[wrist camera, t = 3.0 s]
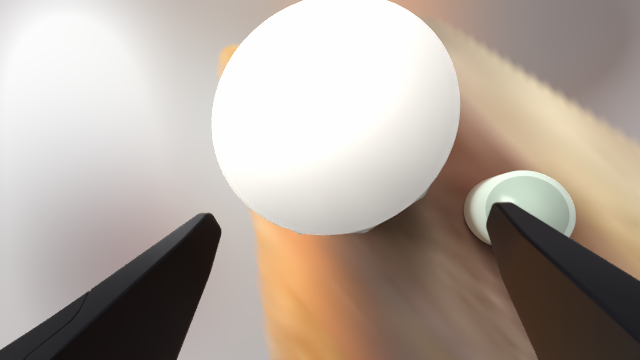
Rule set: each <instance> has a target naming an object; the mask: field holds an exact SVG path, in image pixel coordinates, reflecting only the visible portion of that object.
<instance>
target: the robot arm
mask: <svg viewBox="0 0 640 360" xmlns="http://www.w3.org/2000/svg"><path fill="white" fill-rule="evenodd" d="M486 229H487V232H488V235H489V239H490V242H491V245H492V248H493V251H494V254H495V258H496V261H497V264H498V267H499V270H500V273H501V276H502V279H503V281H504V284H505V286H506V289H507V291H508V293H509V295H510V297H511V300H512V302H513V304H514V306H515V309H516V311H517V313H518V315H519V317H520V320H521V322H522V324H523V326H524V328H525V331H526V333H527V335H528V337H529V340H530V342H531V344H532V346H533V348H534V351H535V353H536V355H537V357H538V360H640V281H639V280H637V279H636V278H634V277H633V276H631V275H629V274H628V273H626V272H624V271H623V270H621V269H620V268H618V267H616V266H615V265H613V264H611V263H610V262H608V261H607V260H605V259H603V258H602V257H600V256H598V255H597V254H595V253H594V252H592V251H590V250H589V249H587V248H585V247H584V246H582V245H581V244H579V243H577V242H576V241H574V240H572V239H571V238H569V237H568V236H566V235H564V234H563V233H561V232H559V231H558V230H556V229H555V228H553V227H551V226H550V225H548V224H546V223H545V222H543V221H542V220H540V219H538V218H537V217H535V216H533V215H532V214H530V213H529V212H527V211H525V210H524V209H522V208H520V207H519V206H517V205H516V204H514V203H512V202H495V203H493V204H492V206H491V209H490V212H489V215H488V218H487V222H486ZM220 237H221V228H220V226H219V224H218V223H217V221H216V219H215V218H214V216H213V215H212V214H211V213H200V214H198V215H196V216H195V217H193V218H192V219H190V220H189V221H188V222H186V223H185V224H183V225H182V226H180V227H179V228H178V229H176V230H175V231H173V232H172V233H170V234H169V235H168V236H166V237H165V238H164V239H162V240H161V241H160V242H158V243H156V244H155V245H153V246H152V247H151V248H149V249H148V250H146V251H145V252H143V253H142V254H141V255H139V256H138V257H136V258H135V259H134V260H132V261H131V262H129V263H128V264H126V265H125V266H124V267H122V268H121V269H119V270H118V271H116V272H115V273H114V274H112V275H111V276H109V277H108V278H106V279H105V280H104V281H102V282H101V283H99V284H98V285H97V286H95V287H94V288H92V289H91V291H88V292H87V293H85V294H84V295H82V296H81V297H80V298H78V299H77V300H75V301H74V302H72V303H71V304H69V305H68V306H66V307H65V308H64V309H62V310H61V311H59V312H58V313H56V314H55V315H53V316H52V317H50V318H49V319H47V320H46V321H44V322H43V323H41V324H40V325H38V326H37V327H35V328H34V329H32V330H30V331H29V332H27V333H26V334H25V335H23V336H21V337H20V338H18V339H17V340H15V341H14V342H12V343H10V344H9V345H7V346H6V347H4V348H3V349H1V350H0V360H177V357H178V355H179V352H180V350H181V347H182V344H183V342H184V339H185V337H186V334H187V332H188V329H189V327H190V324H191V322H192V319H193V316H194V314H195V311H196V309H197V306H198V304H199V301H200V299H201V296H202V293H203V291H204V288H205V286H206V283H207V281H208V278H209V275H210V272H211V268H212V265H213V262H214V258H215V255H216V251H217V247H218V244H219V240H220Z"/></svg>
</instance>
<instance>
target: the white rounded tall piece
mask: <svg viewBox="0 0 640 360" xmlns="http://www.w3.org/2000/svg"><path fill="white" fill-rule="evenodd" d="M459 115H460V91H459V86H458V80H457V75H456V72H455V69H454V66H453V64H452V61H451V58H450V56H449V55H448V53H447V51H446V49H445V47H444V45H443V44H442V42H441V41H440V40H439V38H438V37H437V36H436V34H435V33H434V32H433V31H432V30H431V29H430V28H429V27H428V26H427V25H426V24H425V23H424V22H423V21H422V20H421V19H419V18H418V17H417V16H415V15H414V14H412V13H411V12H410V11H408V10H406V9H404V8H402V7H401V6H399V5H396V4H395V3H392V2H389V1H387V0H304V1H302V2H299V3H297V4H294V5H292V6H289V7H287V8H286V9H284V10H282V11H280V12H278V13H276V14H275V15H273V16H272V17H270V18H269V19H268V20H266V21H265V22H263V23H262V24H261V25H260V26H259V27H257V28H256V29H255V30H254V31H253V32H252V33H251V34H250V35H249V36H248V37H247V38H246V39H245V40H244V41H243V42H242V44H241V45H240V46H239V48H238V49H237V50H236V52H235V53H234V54H233V56H232V58H231V59H230V61H229V63H228V64H227V66H226V68H225V70H224V73H223V75H222V77H221V79H220V82H219V85H218V88H217V91H216V95H215V99H214V104H213V113H212V138H213V143H214V150H215V153H216V156H217V160H218V163H219V165H220V168H221V170H222V172H223V175H224V176H225V178H226V180H227V181H228V183H229V185H230V186H231V188H232V189H233V191H234V192H235V193H236V194H237V195H238V197H239V198H240V199H241V200H242V201H243V202H244V203H245V204H246V205H247V206H248V207H249V208H250V209H251V210H253V211H254V212H256V213H257V214H258V215H260V216H261V217H263V218H264V219H266V220H268V221H270V222H272V223H274V224H276V225H278V226H280V227H283V228H286V229H289V230H292V231H294V232H296V233H298V234H313V235H337V234H347V233H366V232H367V231H369V230H371V229H372V228H374V227H375V226H377V225H379V224H380V223H382V222H384V221H386V220H388V219H390V218H391V217H393V216H395V215H397V214H398V213H400V212H401V211H402V210H404V209H405V208H407V207H408V206H409V205H411V204H413V203H414V202H416V201H418V200H419V199H421V198H422V197H425V195H426V193H427V191H428V189H429V187H430V185H431V183H432V182H433V181H434V180H435V178H436V177H437V176H438V174H439V172H440V171H441V169H442V167H443V166H444V164H445V162H446V161H447V158H448V156H449V154H450V151H451V149H452V147H453V144H454V141H455V137H456V134H457V129H458V125H459Z"/></svg>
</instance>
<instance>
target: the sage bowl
mask: <svg viewBox="0 0 640 360" xmlns="http://www.w3.org/2000/svg"><path fill="white" fill-rule="evenodd" d="M495 202H512V203H514V204H516V205H517V206H519V207H520V208H522V209H524V210H525V211H527V212H529V213H530V214H532V215H533V216H535V217H537V218H538V219H540V220H542V221H543V222H545V223H546V224H548V225H550V226H551V227H553V228H555V229H556V230H558V231H559V232H561V233H563V234H564V235H566V236H568V237H570V235H571V233H572V231H573V229H574V226H575V221H576V212H575V207H574V204H573V201H572V199H571V197H570V195H569V194H568V192H567V191H566V190H565V189H564V188H563V187H562V186H561V185H560V184H559V183H558V182H557V181H555V180H554V179H552V178H550V177H548V176H546V175H544V174H541V173H538V172H534V171H513V172H509V173H505V174H502V175H498V176H495V177H491V178H488V179H485V180H483V181H481V182H479V183H478V184H476V185H475V186H474V187H473V188H472V189H471V190H470V191H469V193H468V195H467V197H466V199H465V203H464V217H465V220H466V223H467V225H468V227H469V228H470V230H471V231H472V232H473V233H474V235H476V236H477V237H478V238H479V239H480V240H482V241H483V242H485V243H487V244H489V245H491V242H490V239H489V235H488V232H487V229H486V222H487V218H488V215H489V212H490V209H491V206H492V204H493V203H495Z"/></svg>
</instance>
